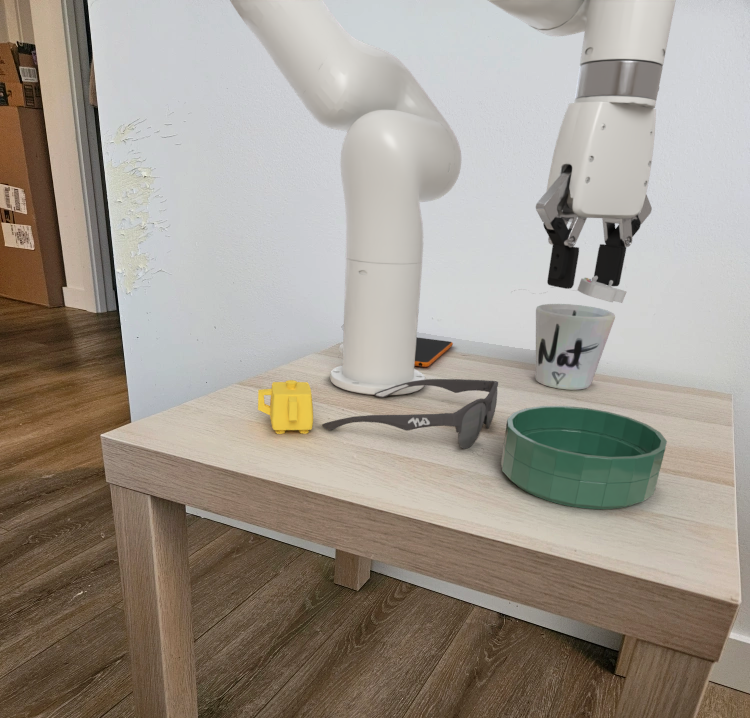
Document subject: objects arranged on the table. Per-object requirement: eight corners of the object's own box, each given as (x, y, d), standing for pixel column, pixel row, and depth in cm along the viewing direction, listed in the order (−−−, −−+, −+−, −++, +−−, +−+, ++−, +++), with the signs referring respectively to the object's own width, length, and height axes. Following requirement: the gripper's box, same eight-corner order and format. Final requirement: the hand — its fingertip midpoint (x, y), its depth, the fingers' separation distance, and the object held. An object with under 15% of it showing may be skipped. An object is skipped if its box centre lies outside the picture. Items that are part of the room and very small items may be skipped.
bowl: (471, 463, 66) (477, 414, 64) (576, 444, 72) (585, 399, 70) (572, 525, 55) (584, 468, 53) (686, 496, 61) (700, 445, 59)
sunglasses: (467, 462, 66) (467, 413, 64) (317, 447, 72) (313, 402, 71) (509, 416, 79) (510, 374, 77) (380, 407, 86) (378, 368, 84)
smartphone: (453, 346, 112) (453, 340, 112) (428, 369, 98) (428, 363, 97) (409, 340, 114) (410, 335, 114) (378, 362, 100) (379, 356, 99)
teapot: (258, 415, 76) (256, 370, 73) (309, 415, 77) (310, 370, 74) (258, 441, 69) (257, 391, 66) (315, 440, 69) (316, 391, 67)
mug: (518, 385, 92) (529, 311, 88) (537, 363, 105) (548, 296, 101) (596, 397, 89) (612, 321, 85) (607, 372, 101) (621, 304, 97)
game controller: (635, 306, 70) (640, 279, 69) (534, 306, 67) (538, 279, 66) (604, 296, 75) (609, 271, 74) (509, 296, 72) (513, 270, 71)
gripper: (644, 101, 71) (611, 278, 79) (521, 83, 63) (497, 283, 71) (708, 96, 65) (665, 288, 73) (581, 75, 57) (548, 294, 65)
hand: (583, 284), depth 72 cm, fingers closed on game controller, 6 cm apart
